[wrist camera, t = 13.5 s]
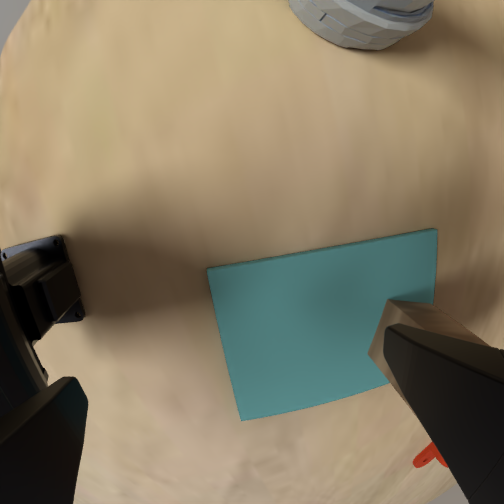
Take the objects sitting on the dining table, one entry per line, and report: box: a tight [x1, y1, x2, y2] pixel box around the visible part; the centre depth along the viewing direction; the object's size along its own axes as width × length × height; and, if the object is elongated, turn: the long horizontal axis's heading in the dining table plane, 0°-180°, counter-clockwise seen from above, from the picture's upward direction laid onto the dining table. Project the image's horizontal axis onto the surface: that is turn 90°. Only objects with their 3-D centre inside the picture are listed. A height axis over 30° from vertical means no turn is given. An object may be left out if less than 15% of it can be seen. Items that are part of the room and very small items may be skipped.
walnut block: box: [367, 299, 491, 417], centre depth 17 cm, size 5×5×13 cm
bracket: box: [413, 442, 448, 468], centre depth 29 cm, size 12×4×5 cm, turn 144°
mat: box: [207, 228, 437, 421], centre depth 22 cm, size 18×14×1 cm
